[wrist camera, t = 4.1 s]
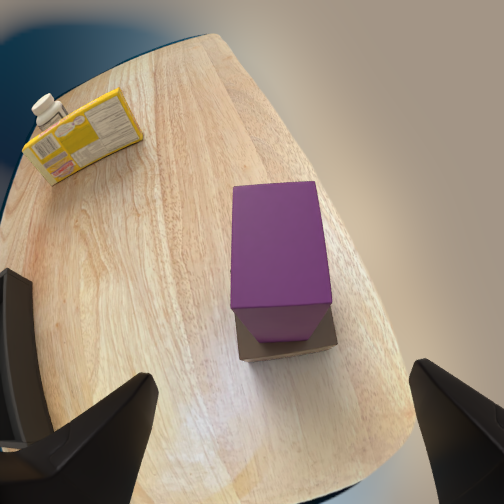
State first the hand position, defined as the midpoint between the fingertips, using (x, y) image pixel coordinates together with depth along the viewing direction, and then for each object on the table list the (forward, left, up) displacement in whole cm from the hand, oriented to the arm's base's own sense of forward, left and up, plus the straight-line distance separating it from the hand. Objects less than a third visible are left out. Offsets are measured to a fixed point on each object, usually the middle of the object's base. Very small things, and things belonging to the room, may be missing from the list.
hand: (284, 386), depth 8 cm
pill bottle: (+38, +31, -12) cm, 50 cm away
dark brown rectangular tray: (+1, +30, -12) cm, 32 cm away
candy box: (+29, +22, -12) cm, 38 cm away
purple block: (+5, 0, -8) cm, 9 cm away
